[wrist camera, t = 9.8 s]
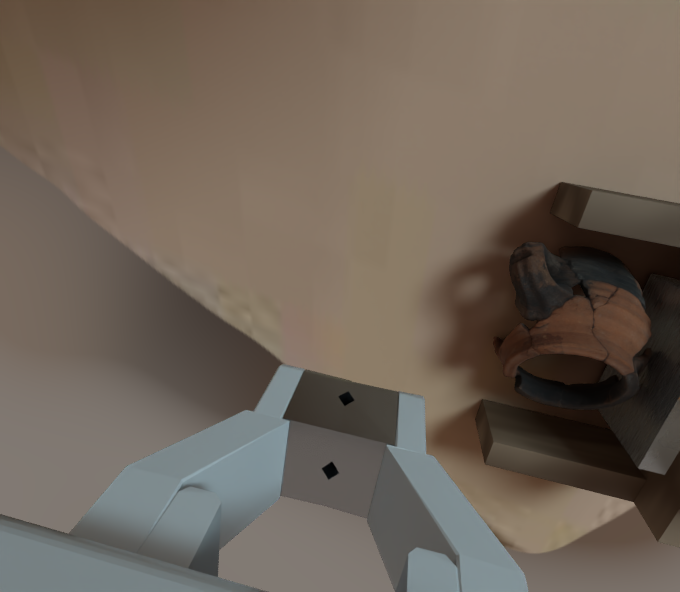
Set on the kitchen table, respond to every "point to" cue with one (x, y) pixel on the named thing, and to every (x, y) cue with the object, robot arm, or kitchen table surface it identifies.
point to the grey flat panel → (653, 385)
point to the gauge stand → (577, 438)
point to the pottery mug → (576, 323)
